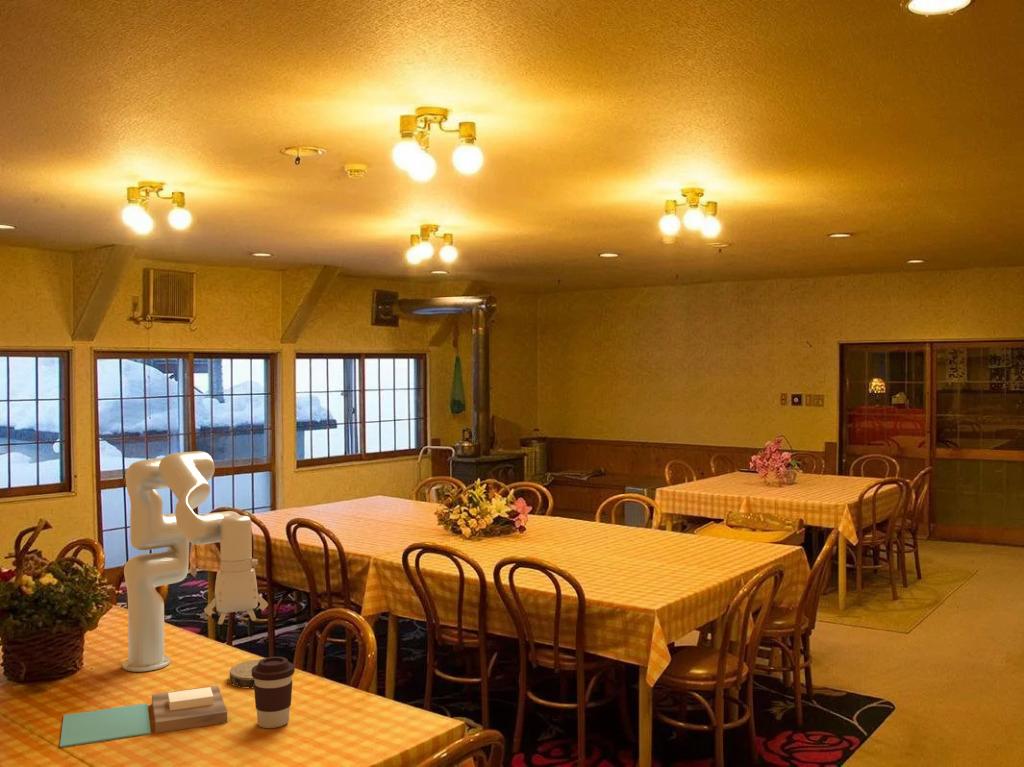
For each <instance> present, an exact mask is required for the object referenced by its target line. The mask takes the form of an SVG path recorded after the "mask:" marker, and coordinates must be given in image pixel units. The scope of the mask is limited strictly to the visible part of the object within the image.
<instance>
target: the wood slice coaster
mask: <svg viewBox="0 0 1024 767" xmlns="http://www.w3.org/2000/svg"><path fill="white" fill-rule="evenodd" d="M262 659H263V658H257V659H250V660H246V661H243V662H239V663H237V664H235V665H233V666H232V667H231V668H230V670H229V683H230V684H231V683H232V684H231V685H233V684H234V685H236V686H235V687H238V686H240V687H239V688H242V687H249V688H248V689H254V683H255V679H254V678H253V677H252V668H253V667H254V666H256V665H258V662H259V661H260V660H262ZM234 685H233V686H234ZM252 687H253V688H252Z"/></svg>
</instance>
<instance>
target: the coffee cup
mask: <svg viewBox="0 0 1024 767" xmlns="http://www.w3.org/2000/svg"><path fill="white" fill-rule="evenodd" d="M261 659H262V660H260V661H259V662H258V665H256V666H254V667H253V668H252V677H253V678H254V679H255V683H254V688H253V691H254V703H255V710H256V716H257V718H256V719H257V720H256V721H257V725H258V726H259V727H260V728H264V729H277V727H278V728H281V727H284V726H286V725H287V724H288V723H289V722H290V710H291V705H292V693H293V675H294V674H295V671H296V670H295V667H296V666H295V664H294V663H292V662H290V661H289V660H288V658H286V657H284V656H269V657H265V658H261ZM285 724H286V725H285ZM283 725H284V726H283Z"/></svg>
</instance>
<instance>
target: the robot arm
mask: <svg viewBox="0 0 1024 767" xmlns="http://www.w3.org/2000/svg"><path fill="white" fill-rule="evenodd" d="M215 468H216V467H215V462H214V460H213V458H212V456H211V455H210V454H209V453H208V452H206V451H202V450H197V451H194V450H193V451H183V452H173V453H170V454H167V455H165V456H164V457H162V458H151V459H150V458H149V459H144V460H143V459H142V460H138V461H135V462H133V463H131V464H130V465H129V467H128V468H127V470H126V474H125V485H126V490H127V493H128V497H129V503H130V510H129V511H130V515H129V516H130V519H129V520H130V521H129V522H130V524H129V526H130V531H129V534H130V537H129V538H130V543H131V546H132V548H133V549H135V550H137V551H151V550H158V549H163V548H166V549H167V550H164V551H160V552H152V553H144V554H139V555H137V556H134V557H132V558H130V559H129V560H127V562H126V563H125V565H124V568H123V575H124V581H125V586H126V593H127V616H128V617H127V620H128V621H127V624H128V625H127V627H128V630H127V631H128V632H127V634H128V635H127V638H128V641H127V642H128V650H127V651H128V652H127V653H128V659H125V661H124V662H122V669H123V670H125V671H128V672H132V673H133V672H134V673H135V672H137V673H139V672H140V673H141V672H150V671H154V670H160V669H162V668H165V667H167V666H168V665H169V664H170V663H171V658H170V656H168V655H166V654H165V602H164V599H163V597H162V596H161V594H159V592H158V591H157V590H156V588H157V587H161V586H168V585H171V584H177V583H179V582H182V581H184V580H185V579H186V577H187V575H188V571H189V562H190V561H189V560H190V558H189V557H190V556H189V554H190V552H189V548H190V543H191V544H193V545H197V546H203V545H208V544H209V545H210V544H214V543H220V570H218V571H216V572H217V573H216V577H215V584H214V598H213V599H212V600H211V601H210V602H209V603H208V604H207V605H206V606H205V607H204V609H203V610H204V613H205V614H207V615H208V616H209V617H210V618H212V619H213V620H214V621H215V622H217V626H218V631H217V633H218V634H217V635H218V637H220V638H221V641H225V640H226V623H225V619H226V616H227V613H236V612H237V613H238V612H246V611H247V614H248V619H247V636H248V637H250V638H252V637H253V633H256V632H255V630H256V629H255V626H256V625H255V624H256V622H255V621H256V620H257V618H258V617H259V616H260V615H261V613H263V611H264V610H265V609H266V608H267V607H268V606H269V603H268V602H267V601H266V600H265V599H264V598H263V597H262V596H261V595H260V594H259V593H258V584H257V575H256V570H255V568H253V567H254V566H255V565H258V564H259V560H258V559H257V558H256V559H255V558H253V557H252V555H253V554H252V552H253V550H252V549H253V548H252V547H253V545H252V543H253V542H252V540H253V539H252V537H253V536H252V534H253V532H252V531H253V526H252V519H251V518H250V517H249V516H248V515H241V514H239V513H238V512H236V511H233V510H232V511H230V510H227V511H217V512H210V513H209V512H208V513H201V514H197V513H195V512H194V509H197V507H199V506H201V505H202V504H203V503H204V502H205V501H206V500H207V499H208V497H209V496H210V493H211V486H210V484H209V482H208V481H210V480H211V479H212V478H213V477H214V474H215ZM159 489H170V490H171V492H172V494H174V496H175V498H176V499H177V503H176V504H175V509H174V510H175V512H174V513H165V514H163V507H164V506H163V504H164V502H163V498H162V496H161V495H160V493H159V492H158V491H157V490H159ZM214 608H216V611H217V613H216V612H215V611H214V610H213V609H214Z"/></svg>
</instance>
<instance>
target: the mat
mask: <svg viewBox="0 0 1024 767" xmlns="http://www.w3.org/2000/svg"><path fill="white" fill-rule="evenodd" d="M149 712H150V711H149V704H148V702H146V703H140V704H139V703H138V704H131V705H124V706H118V707H111V708H110V707H108V708H104V709H95V710H90V711H89V710H88V711H83V712H82V711H80V712H74V713H67V714H63V718H62V726H61V733H60V734H61V735H60V741H59V742H60V743H59V748H66V747H68V748H69V747H75V746H80V745H87V744H88V745H89V744H94V743H99V742H106V741H111V740H112V741H113V740H118V739H119V740H120V739H127V738H133V737H139V736H146V735H152V728H151V722H150V720H151V719H150V713H149Z"/></svg>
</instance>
